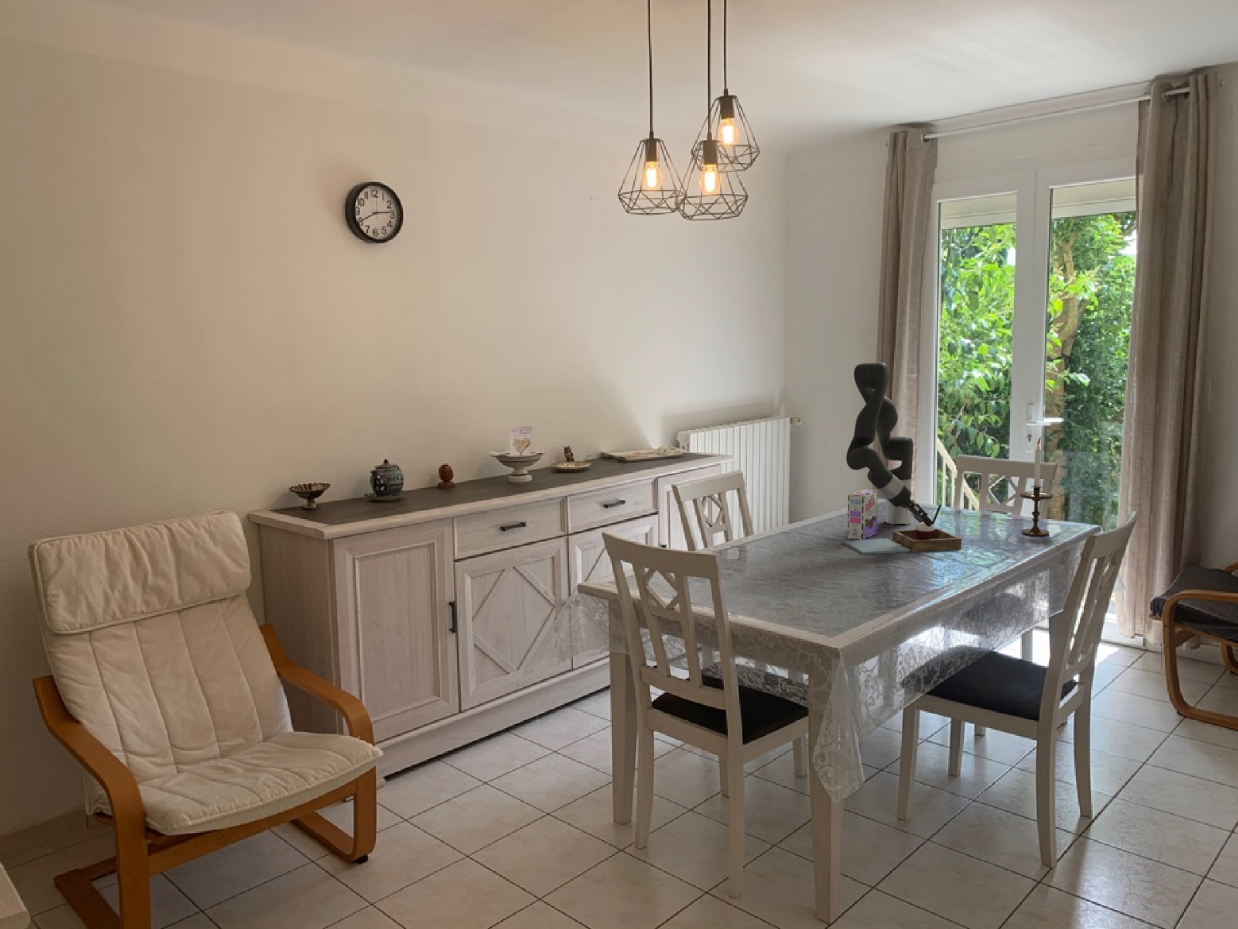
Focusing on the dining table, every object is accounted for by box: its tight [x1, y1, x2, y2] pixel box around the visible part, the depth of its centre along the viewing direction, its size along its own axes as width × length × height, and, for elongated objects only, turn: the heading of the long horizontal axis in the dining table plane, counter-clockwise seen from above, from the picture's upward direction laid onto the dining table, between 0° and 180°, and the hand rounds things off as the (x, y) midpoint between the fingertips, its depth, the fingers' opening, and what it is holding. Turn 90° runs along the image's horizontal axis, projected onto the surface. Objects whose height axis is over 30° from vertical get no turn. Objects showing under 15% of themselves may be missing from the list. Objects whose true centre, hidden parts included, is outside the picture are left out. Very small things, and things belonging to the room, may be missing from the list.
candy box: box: [847, 488, 878, 540], centre depth 332 cm, size 14×6×16 cm, turn 143°
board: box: [843, 537, 910, 556], centre depth 317 cm, size 18×16×1 cm
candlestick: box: [1019, 436, 1054, 537], centre depth 328 cm, size 11×11×35 cm
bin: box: [891, 527, 963, 552], centre depth 318 cm, size 17×17×4 cm
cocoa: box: [911, 504, 942, 540], centre depth 318 cm, size 10×6×12 cm, turn 61°
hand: (926, 522), depth 318 cm, fingers closed on cocoa, 6 cm apart
